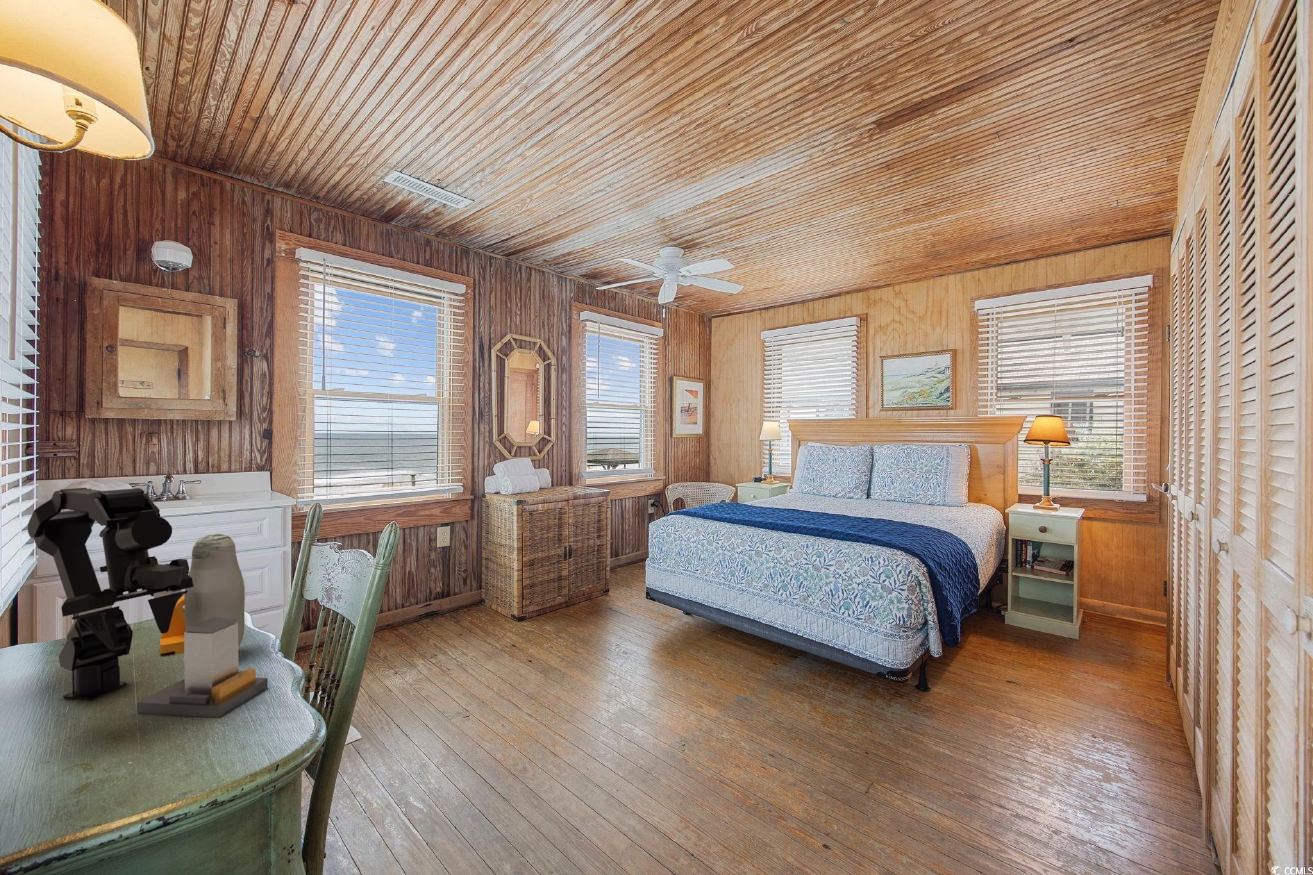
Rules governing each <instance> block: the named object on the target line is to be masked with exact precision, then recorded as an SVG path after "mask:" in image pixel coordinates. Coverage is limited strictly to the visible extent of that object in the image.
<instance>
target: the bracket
mask: <svg viewBox="0 0 1313 875" xmlns="http://www.w3.org/2000/svg"><path fill="white" fill-rule="evenodd" d="M184 632H185V608H184V595H183V596H182V597H181V598H180V599H179V600H178V601H177V603H176V606H175V609H174V612H173V615H172V619H171V623H170V627H169V630H168V632H167V633H164V634H161V636H160V641H159V653H160V654H167V653H171V652H174V654H175V655H179V654H184V653H183V652H184ZM178 653H179V654H178Z"/></svg>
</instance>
